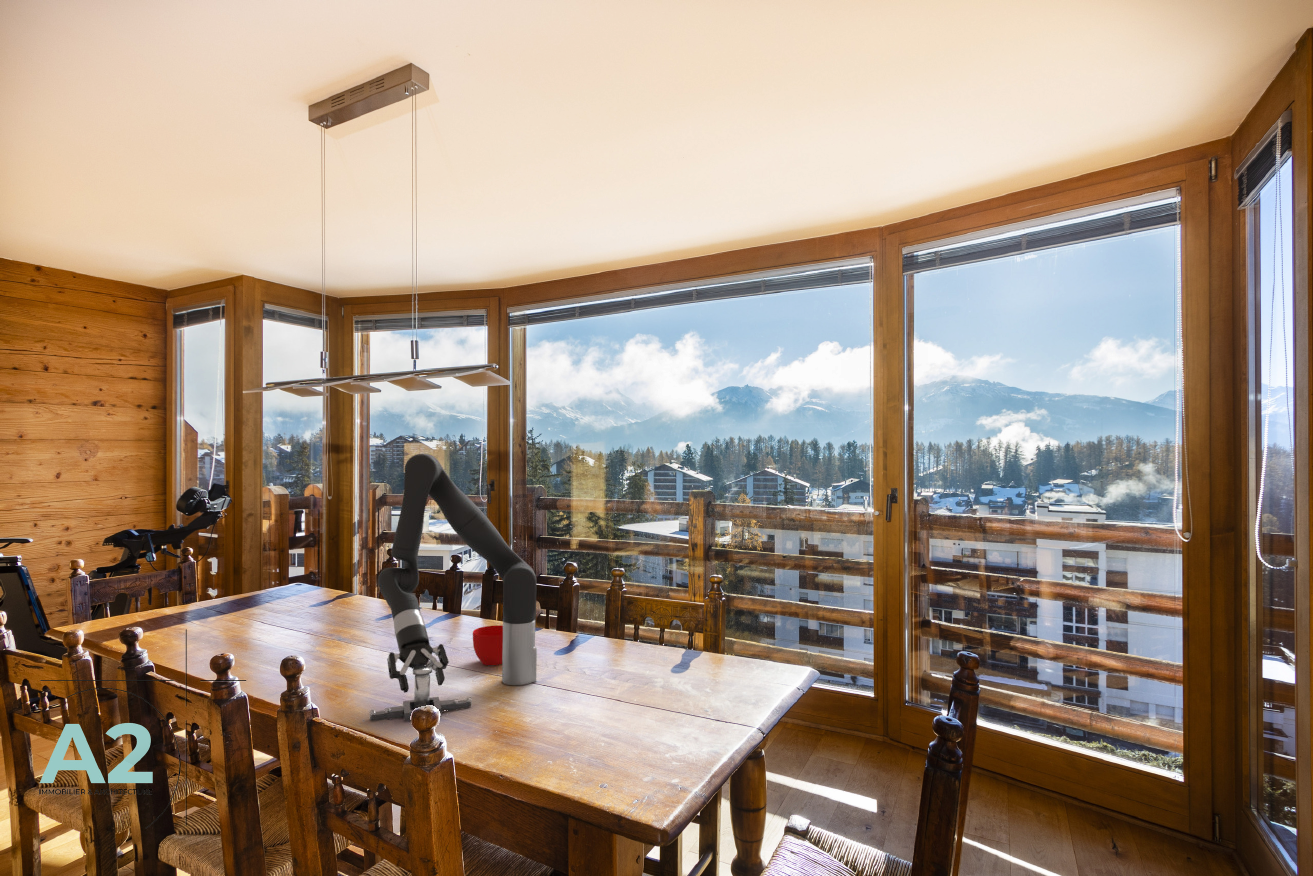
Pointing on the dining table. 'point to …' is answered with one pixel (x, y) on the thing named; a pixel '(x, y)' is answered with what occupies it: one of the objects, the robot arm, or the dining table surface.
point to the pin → (422, 685)
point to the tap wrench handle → (409, 707)
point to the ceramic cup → (489, 644)
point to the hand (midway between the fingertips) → (424, 687)
